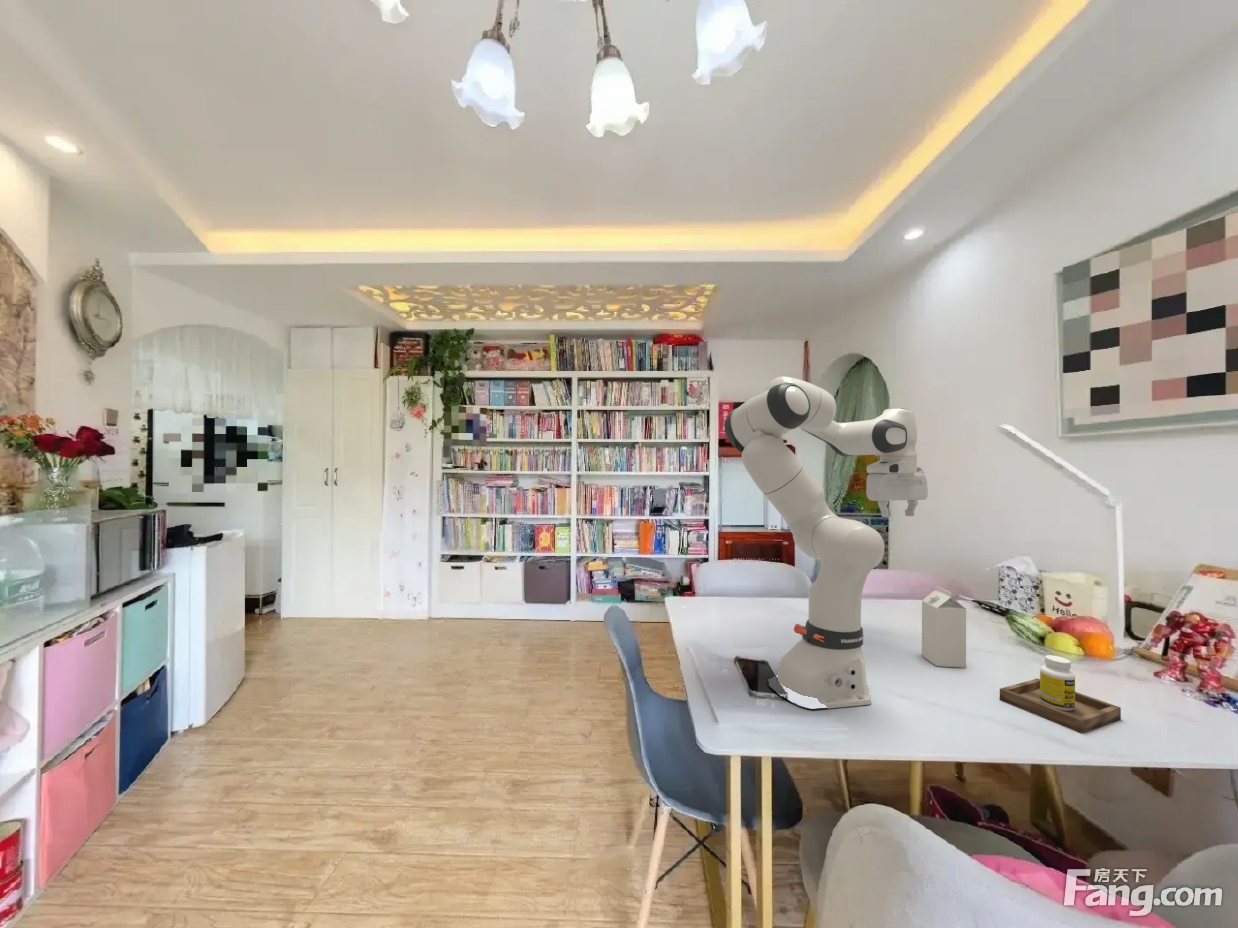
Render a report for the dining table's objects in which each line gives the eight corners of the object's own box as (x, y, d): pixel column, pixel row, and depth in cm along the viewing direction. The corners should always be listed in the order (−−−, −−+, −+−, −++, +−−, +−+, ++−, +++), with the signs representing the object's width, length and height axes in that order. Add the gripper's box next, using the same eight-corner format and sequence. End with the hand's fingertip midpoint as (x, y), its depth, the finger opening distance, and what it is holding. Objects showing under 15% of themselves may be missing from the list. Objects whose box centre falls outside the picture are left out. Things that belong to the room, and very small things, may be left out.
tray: (1082, 733, 89) (1082, 720, 89) (999, 699, 102) (999, 688, 102) (1120, 719, 95) (1120, 707, 95) (1037, 688, 108) (1037, 678, 108)
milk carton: (949, 657, 126) (949, 586, 126) (966, 668, 119) (966, 593, 119) (921, 655, 126) (921, 585, 127) (936, 666, 119) (936, 592, 119)
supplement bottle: (1068, 714, 95) (1068, 665, 95) (1035, 702, 100) (1035, 656, 100) (1079, 708, 97) (1079, 660, 98) (1046, 696, 102) (1046, 651, 102)
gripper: (912, 467, 137) (912, 514, 137) (862, 466, 130) (861, 516, 130) (934, 467, 132) (934, 516, 132) (882, 466, 124) (882, 518, 124)
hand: (897, 516), depth 131 cm, fingers open, 8 cm apart
